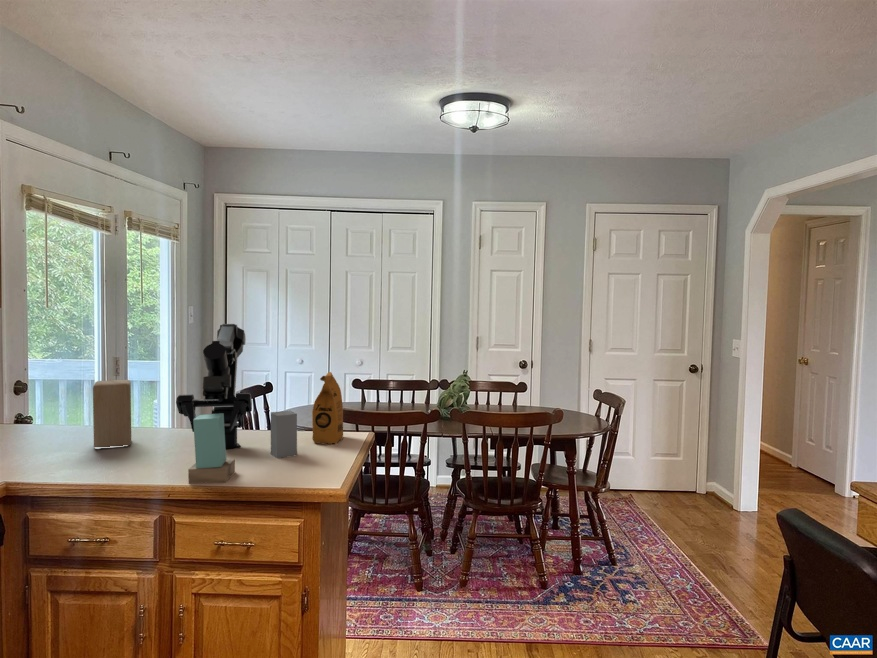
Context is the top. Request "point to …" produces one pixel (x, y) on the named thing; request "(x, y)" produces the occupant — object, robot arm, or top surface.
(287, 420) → the grey rectangular pillar
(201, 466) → the teal pillar
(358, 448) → the top surface
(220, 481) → the taupe square slab
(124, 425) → the block
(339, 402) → the coffee package
